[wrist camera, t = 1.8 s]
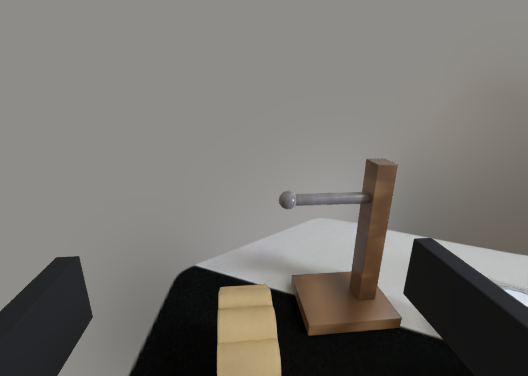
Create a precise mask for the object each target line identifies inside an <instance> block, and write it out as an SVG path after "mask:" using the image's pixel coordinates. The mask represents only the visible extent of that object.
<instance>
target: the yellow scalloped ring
mask: <svg viewBox="0 0 528 376" xmlns="http://www.w3.org/2000/svg"><path fill="white" fill-rule="evenodd" d="M217 335H218V346H217V376H281V362H280V352H279V345H278V340H277V328H276V318H275V312H274V308H273V306H272V298H271V292H270V289H269V288H267V286H266V285H265V284H263V285H248V286H232V287H221V288H220V291H219V304H218V327H217Z"/></svg>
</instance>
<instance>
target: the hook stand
mask: <svg viewBox="0 0 528 376" xmlns="http://www.w3.org/2000/svg"><path fill="white" fill-rule="evenodd" d="M397 166H398V164H395V163H393V162H391V161H389V160H386V159H367V160H366V167H365V175H364V182H363V190H362V192H356V193H355V192H354V193H320V194H319V193H318V194H294V193H293V192H291V191H285V192H283V193H282V194H281V195H280V197H279V203H280V205H281V206H282V207H283V208H285V209H292V208H294V207H295V206H300V205H301V206H302V205H332V204H361V205H360V213H359V220H358V227H357V234H356V242H355V249H354V257H353V264H352V272H337V273H321V274H304V275H292V282H291V284H292V287H293V290H294V293H295V296H296V299H297V302H298V305H299V309H300V312H301V315H302V318H303V321H304V324H305V327H306V330H307V333H308V336H309V335H321V334H333V333H344V332H356V331H367V330H379V329H390V328H400V324H401V319H402V318H401V316H400V315H399V314H398V312H397V311H396V310H395V308H394V307H393V306H392V304H391V303H390V302H389V301H388V299H387V298H386V297H385V295H384V294H383V293H382V291H381V290H380V289H379V287H378V286H377V284H378V278H379V272H380V266H381V260H382V254H383V249H384V243H385V237H386V231H387V224H388V219H389V214H390V207H391V201H392V196H393V190H394V184H395V178H396V173H397Z"/></svg>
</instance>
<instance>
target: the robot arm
mask: <svg viewBox="0 0 528 376" xmlns="http://www.w3.org/2000/svg"><path fill="white" fill-rule="evenodd" d="M403 294H404V295H405V296H406V297H407V298H408V300H409V301H410V302H411V303H412V304H413V305H414V306H415V308H416V309H417V310H418V311H419V312H420V313H421V314H422V316H423V317H424V318H425V319H426V320H427V321H428V322H429V324H430V325H431V326H432V327H433V328H434V329H435V331H436V332H437V333H438V334H439V335H440V336H441V337H442V339H443V340H444V341H445V342H446V343H447V344H448V345H449V347H450V348H451V349H452V350H453V351H454V352H455V353H456V355H457V356H458V357H459V358H460V359H461V360H462V362H463V363H464V364H465V365H466V366H467V367H468V368H469V370H470V371H471V372H472V373H473V374H474V375H475V376H528V307H527V306H525V305H524V304H523V303H521V302H520V301H518V300H517V299H516V298H514V297H513V296H512V295H510V294H509V293H507V292H506V291H505V290H503V289H502V288H500V287H499V286H498V285H496V284H495V283H493V282H492V281H491V280H489V279H488V278H486V277H485V276H484V275H482V274H481V273H479V272H478V271H477V270H475V269H474V268H472V267H471V266H470V265H468V264H467V263H465V262H464V261H463V260H461V259H460V258H458V257H457V256H456V255H454V254H453V253H451V252H450V251H449V250H447V249H446V248H445V247H443V246H442V245H440V244H439V243H438V242H436V241H435V240H433V239H432V238H419V239H414V242H413V247H412V252H411V257H410V262H409V267H408V272H407V277H406V282H405V287H404V292H403ZM92 317H93V316H92V311H91V307H90V302H89V298H88V293H87V289H86V285H85V281H84V276H83V272H82V267H81V263H80V258H79V256H75V257H57V258H55V259H54V260H53V261H52V262H51V263H50V264H49V265H48V266H47V267H46V268H45V269H44V270H43V271H42V272H41V273H40V274H39V275H38V276H37V277H36V278H35V279H33V280H32V281H31V282H30V283H29V284H28V285H27V286H26V287H25V288H24V289H23V290H22V291H21V292H20V293H19V294H18V295H17V296H16V297H15V298H14V299H13V300H12V301H11V302H10V303H9V304H7V305H6V306H5V307H4V308H3V309H2V310H1V311H0V376H57V375H58V374H59V372H60V370H61V369H62V367H63V365H64V364H65V362H66V361H67V359H68V357H69V356H70V354H71V352H72V350H73V349H74V347H75V346H76V344H77V342H78V341H79V339H80V337H81V336H82V334H83V332H84V330H85V329H86V327H87V326H88V324H89V322H90V321H91V319H92Z"/></svg>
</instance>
